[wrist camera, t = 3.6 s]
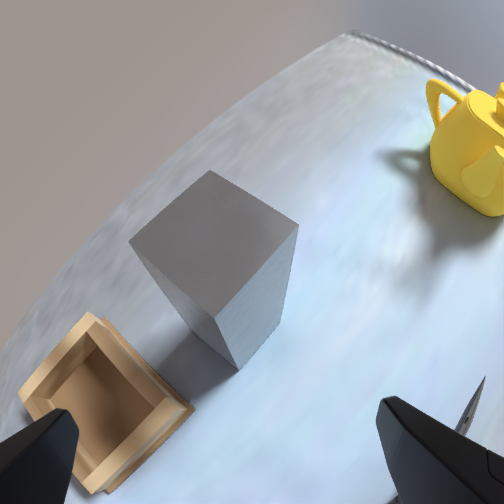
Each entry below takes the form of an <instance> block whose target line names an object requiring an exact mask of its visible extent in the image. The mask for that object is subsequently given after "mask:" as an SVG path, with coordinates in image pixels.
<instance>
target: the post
mask: <svg viewBox="0 0 504 504" xmlns="http://www.w3.org/2000/svg"><path fill="white" fill-rule="evenodd" d="M298 228H299V224H297V223H296V222H294V221H292V220H291V219H289V218H288V217H286V216H285V215H283V214H281V213H280V212H278V211H277V210H275V209H273V208H272V207H270V206H269V205H267V204H265V203H264V202H262V201H261V200H259V199H257V198H256V197H254V196H252V195H251V194H249V193H247V192H246V191H244V190H243V189H241V188H239V187H238V186H236V185H234V184H233V183H231V182H229V181H228V180H226V179H224V178H223V177H221V176H219V175H218V174H216V173H214V172H212V171H211V170H209V171H208V172H207V173H206V174H204V175H203V176H202V177H201V178H199V179H198V180H197V181H196V182H195V183H193V184H192V185H191V186H190V187H189V188H188V189H186V190H185V191H184V192H183V193H182V194H180V195H179V196H178V197H177V198H176V199H175V200H174V201H172V202H171V203H170V204H169V205H168V206H167V207H166V208H164V209H163V210H162V211H161V212H160V213H159V214H158V215H157V216H155V217H154V218H153V219H152V220H151V221H150V222H149V223H148V224H147V225H146V226H144V227H143V228H142V229H141V230H140V231H139V232H138V233H137V234H136V235H135V236H134V237H133V238H132V239H130V240H129V241H128V242H129V243H130V245H131V246H132V248H133V249H134V251H135V252H136V254H137V255H138V257H139V258H140V260H141V261H142V263H143V264H144V266H145V267H146V269H147V270H148V272H149V273H150V274H151V276H152V277H153V279H154V280H155V282H156V283H157V284H158V286H159V287H160V289H161V290H162V291H163V293H164V294H165V295H166V297H167V298H168V300H169V301H170V302H171V304H172V305H173V306H174V308H175V309H176V310H177V312H178V313H179V314H180V316H181V317H182V318H183V320H184V321H185V322H186V324H187V325H188V326H189V328H190V329H191V330H192V331H193V332H194V333H195V334H196V335H197V336H199V337H200V338H201V339H202V340H203V341H204V342H205V343H207V344H208V345H209V346H210V347H211V348H212V349H214V350H215V351H216V352H217V353H218V354H220V355H221V356H222V357H223V358H224V359H226V360H227V361H228V362H229V363H230V364H232V365H233V366H234V367H235V368H236V369H238V370H240V369H241V368H242V367H243V366H244V365H245V364H246V362H247V361H248V360H249V359H250V358H251V357H252V356H253V354H254V353H255V352H256V351H257V350H258V349H259V347H260V346H261V345H262V344H263V343H264V341H265V340H266V339H267V338H268V337H269V336H270V334H271V333H272V332H273V331H274V330H275V328H276V327H277V326H278V325H279V323H280V320H281V315H282V310H283V306H284V301H285V296H286V291H287V286H288V281H289V276H290V271H291V265H292V260H293V255H294V249H295V244H296V239H297V233H298Z"/></svg>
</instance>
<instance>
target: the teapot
mask: <svg viewBox="0 0 504 504" xmlns="http://www.w3.org/2000/svg"><path fill="white" fill-rule="evenodd" d="M441 93H444V94H446V95H448V96H449V97H451V98H452V99H453V100H454V101H456V102H457V103H456V104H455V105H454V106H453V107H452V108H451V109H450V110H449V111H448V112H447V113H446V114H445V115H444V117H443V118H442V120H441V114H440V108H439V96H440V94H441ZM426 97H427V102H428V106H429V109H430V113H431V116H432V119H433V122H434V125H435V131H434V133H433V135H432V138H431V143H430V161H431V167H432V171H433V174H434V176H435V177H436V179H437V180H438V181H439V182H440V183H441V184H442V185H443V186H445V187H446V188H447V189H448V190H449V191H451V192H452V193H453V194H455V195H456V196H457V197H458V198H460V199H461V200H462V201H464V202H465V203H467V204H468V205H469V206H471V207H472V208H474V209H475V210H477V211H478V212H480V213H482V214H483V215H486V216H489V217H493V216H500V215H503V214H504V82H502V83H501V84H500V87H499V90H498V92H497V94H496V95H495V97H494V98H493V97H491V96H490V95H488V94H487V93H485V92H483V91H480V90H474V91H471V92H470V93H469V94H467V95H466V96H465V97H463V96H462V95H460V94H459V93H458V92H457V91H456V90H454V89H453V88H452V87H450V86H449V85H447V84H446V83H444V82H442V81H440V80H437V79H430V80H429V81H428V82H427V84H426Z"/></svg>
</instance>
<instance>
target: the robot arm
mask: <svg viewBox="0 0 504 504" xmlns="http://www.w3.org/2000/svg"><path fill="white" fill-rule="evenodd" d="M376 426H377V429H378V433H379V437H380V440H381V444H382V448H383V451H384V455H385V459H386V463H387V466H388V469H389V472H390V474H391V477H392V479H393V482H394V484H395V487H396V489H397V492H398V494H399V497H400V499H401V502H402V504H504V457H502V456H500V455H498V454H496V453H494V452H492V451H490V450H487V449H486V448H485V447H483V446H481V445H479V444H477V443H476V442H474V441H472V440H470V439H468V438H467V437H465V436H463V435H461V434H460V433H458V432H456V431H454V430H453V429H451V428H449V427H447V426H446V425H444V424H442V423H440V422H439V421H437V420H435V419H434V418H432V417H430V416H429V415H427V414H425V413H423V412H422V411H420V410H418V409H417V408H415V407H413V406H412V405H410V404H408V403H407V402H405V401H404V400H402V399H400V398H399V397H397V396H390V397H386V398H383V399H382V400H381V401H380V404H379V408H378V412H377V416H376ZM78 439H79V428H78V426H77V424H76V422H75V420H74V419H73V417H72V415H71V413H70V412H69V411H68V410H67V409H61V408H55V409H54V410H52V411H51V412H49V413H47V414H46V415H44V416H43V417H41V418H40V419H38V420H36V421H35V422H33V423H32V424H30V425H29V426H27V427H25V428H24V429H22V430H21V431H19V432H17V433H16V434H14V435H12V436H11V437H9V438H8V439H6V440H4V441H3V442H1V443H0V504H64V501H65V497H66V494H67V490H68V486H69V483H70V479H71V475H72V471H73V466H74V460H75V455H76V449H77V444H78Z"/></svg>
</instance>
